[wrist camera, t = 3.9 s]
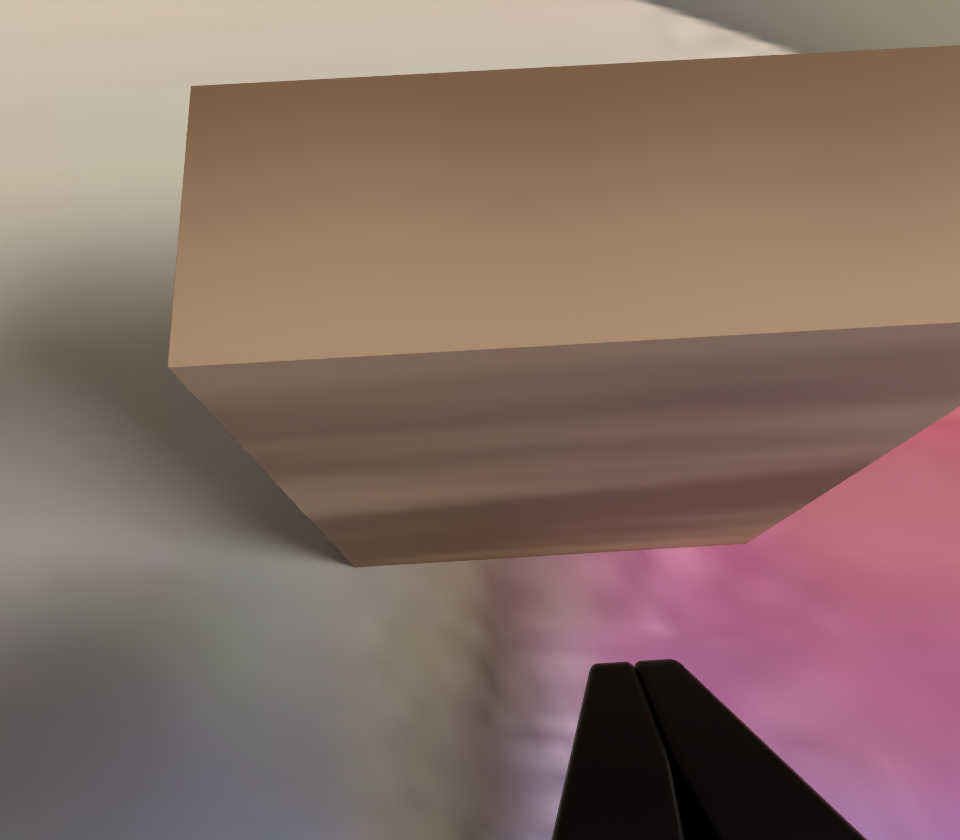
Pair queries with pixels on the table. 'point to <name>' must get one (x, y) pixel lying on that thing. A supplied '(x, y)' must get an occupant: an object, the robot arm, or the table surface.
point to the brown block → (572, 293)
